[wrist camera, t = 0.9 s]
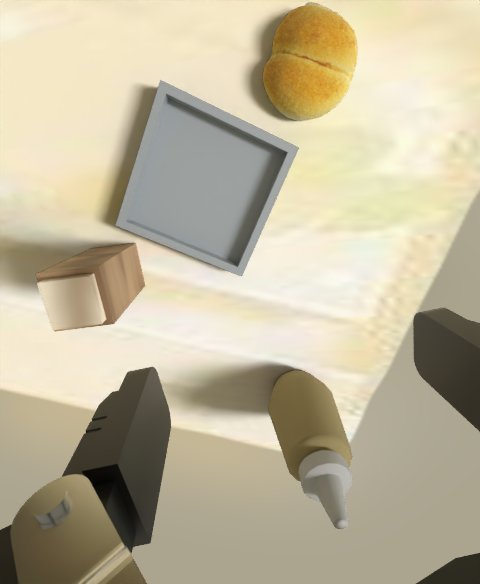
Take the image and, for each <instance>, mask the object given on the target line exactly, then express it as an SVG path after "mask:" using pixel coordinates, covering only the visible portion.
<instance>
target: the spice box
mask: <svg viewBox="0 0 480 584" xmlns="http://www.w3.org/2000/svg"><path fill="white" fill-rule="evenodd" d="M36 277H37V280H38V283H37V285H38V288H39V291H40V294H41V297H42V300H43V303H44V306H45V309H46V312H47V315H48V318H49V321H50V324H51V327H52V330H54V331H62V330H70V329H78V328H85V327H93V326H101V325H109V324H114V323H115V322H116V321H117V319H118V318H119V317H120V316H121V315H122V313H123V312H124V311H125V310H126V308H127V307H128V306H129V305H130V303H131V302H132V301H133V300H134V299H135V297H136V296H137V295H138V294H139V292H140V291H141V290H142V289H143V288H144V286H145V283H144V278H143V274H142V269H141V265H140V260H139V256H138V251H137V247H136V243H132V244H124V245H116V246H108V247H100V248H92V249H89V250H87V251H85V252H83V253H81V254H78V255H76V256H74V257H72V258H70V259H67V260H65V261H63V262H61V263H59V264H57V265H54V266H52V267H50V268H48V269H46V270H44V271H41V272H39V273H37V274H36Z"/></svg>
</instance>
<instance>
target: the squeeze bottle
mask: <svg viewBox="0 0 480 584" xmlns="http://www.w3.org/2000/svg"><path fill="white" fill-rule="evenodd" d="M268 411H269V414H270V417H271V420H272V423H273V426H274V429H275V432H276V434H277V437H278V440H279V443H280V446H281V449H282V452H283V455H284V458H285V461H286V464H287V467H288V470H289V472H290V474H291V475H292V476H293V477H294V478H295V479H297V480H298V481H301V485H302V488H303V491H304V493H305V494H306V495H307V496H308V497H309V498H311V499H313V500H316V501H319V502H321V503H322V505H323V507H324V508H325V510H326V512H327V514H328V516H329V517H330V519H331V521H332V523H333V525H334V527H336V528H337V529H344V528H345V527H347V526H348V516H347V510H346V502H345V496H344V495H345V494H346V493H347V491H348V490H349V489H350V487H351V484H352V480H353V479H352V475H351V472H350V469H349V466H350V463H351V459H352V453H351V449H350V445H349V442H348V439H347V437H346V434H345V431H344V428H343V425H342V422H341V419H340V416H339V413H338V410H337V407H336V404H335V401H334V398H333V395H332V392H331V391H330V390H329V389H328V388H327V387H326V385H325V384H324V383H322V382H321V381H319V380H318V379H317V378H315V377H314V376H312V375H311V374H309V373H307V372H305V371H300V370H293V371H290V372H286V373H285V374H283V375H282V376H280V377H279V378H278V380H277V381H276V383H275V384H274V387H273V391H272V394H271V397H270V401H269V408H268Z"/></svg>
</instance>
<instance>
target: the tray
mask: <svg viewBox="0 0 480 584" xmlns="http://www.w3.org/2000/svg"><path fill="white" fill-rule="evenodd" d="M298 149H299V147H297V146H295V145H293V144H291V143H289V142H286V141H284V140H282V139H280V138H278V137H276V136H274V135H272V134H270V133H268V132H266V131H264V130H262V129H260V128H258V127H256V126H254V125H252V124H250V123H248V122H246V121H243V120H241V119H239V118H237V117H235V116H233V115H231V114H229V113H227V112H225V111H223V110H221V109H219V108H217V107H215V106H213V105H211V104H209V103H207V102H205V101H202V100H200V99H198V98H196V97H194V96H192V95H190V94H188V93H186V92H184V91H182V90H180V89H178V88H176V87H174V86H172V85H170V84H168V83H166V82H164V81H162V80H160V83H159V86H158V90H157V93H156V96H155V99H154V103H153V106H152V109H151V112H150V115H149V119H148V122H147V125H146V128H145V132H144V135H143V138H142V141H141V145H140V148H139V151H138V154H137V158H136V161H135V164H134V167H133V171H132V174H131V177H130V180H129V183H128V187H127V190H126V193H125V196H124V200H123V203H122V206H121V209H120V213H119V216H118V219H117V222H116V226H118V227H120V228H123V229H125V230H128V231H130V232H133V233H135V234H138V235H140V236H143V237H145V238H148V239H150V240H152V241H155V242H157V243H160V244H162V245H165V246H167V247H170V248H172V249H175V250H177V251H180V252H182V253H185V254H187V255H190V256H192V257H195V258H197V259H200V260H202V261H204V262H207V263H209V264H212V265H214V266H217V267H219V268H222V269H224V270H227V271H229V272H232V273H234V274H237V275H239V276H242V275H243V273H244V271H245V268H246V266H247V264H248V261H249V259H250V257H251V255H252V252H253V250H254V248H255V246H256V243H257V241H258V239H259V237H260V234H261V232H262V230H263V228H264V225H265V223H266V221H267V219H268V216H269V214H270V212H271V210H272V207H273V205H274V203H275V201H276V198H277V196H278V194H279V192H280V189H281V187H282V185H283V183H284V180H285V178H286V176H287V174H288V171H289V169H290V167H291V165H292V162H293V160H294V158H295V156H296V153H297V151H298Z"/></svg>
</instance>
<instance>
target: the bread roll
mask: <svg viewBox="0 0 480 584" xmlns="http://www.w3.org/2000/svg"><path fill="white" fill-rule="evenodd" d="M356 62H357V40H356V36H355V33H354V30H353V29H352V28H351V27H350V25H349V24H348V23H347V22H346V21H345V20H344V19H343V18H342V17H341V16H339V14H338V12H333V11H332V10H330V9H328V8H326V7H323V6H322V5H320V4H317V3H312V2H309V3H307V4H306V5H305V6H301V7H298V8H296V9H294V10H292V11H291V12H289V13H288V14H287V15H286V17H285V18H284V19H283V21H282V22H281V24H280V25H279V27H278V29H277V31H276V34H275V37H274V41H273V49H272V54H271V57H270V59H269V60H268V62H267V63H266V65H265V68H264V71H263V83H264V87H265V90H266V92H267V94H268V96H269V98H270V100H271V102H272V103H273V104H274V106H275V107H276V108H277V109H278V110H279V111H280V112H281V113H282V114H283V115H284V116H286V117H288V118H290V119H293V120H298V121H302V120H309V119H314V118H318V117H321V116H323V115H324V114H326V113H328V112H329V111H331V110H332V109H333V108H335V107H336V106H337V105H338V103H339V102H340V101H341V100H342V99H343V98H344V96H345V95H346V93H347V91H348V89H349V86H350V84H351V80H352V77H353V74H354V71H355V66H356Z"/></svg>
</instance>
